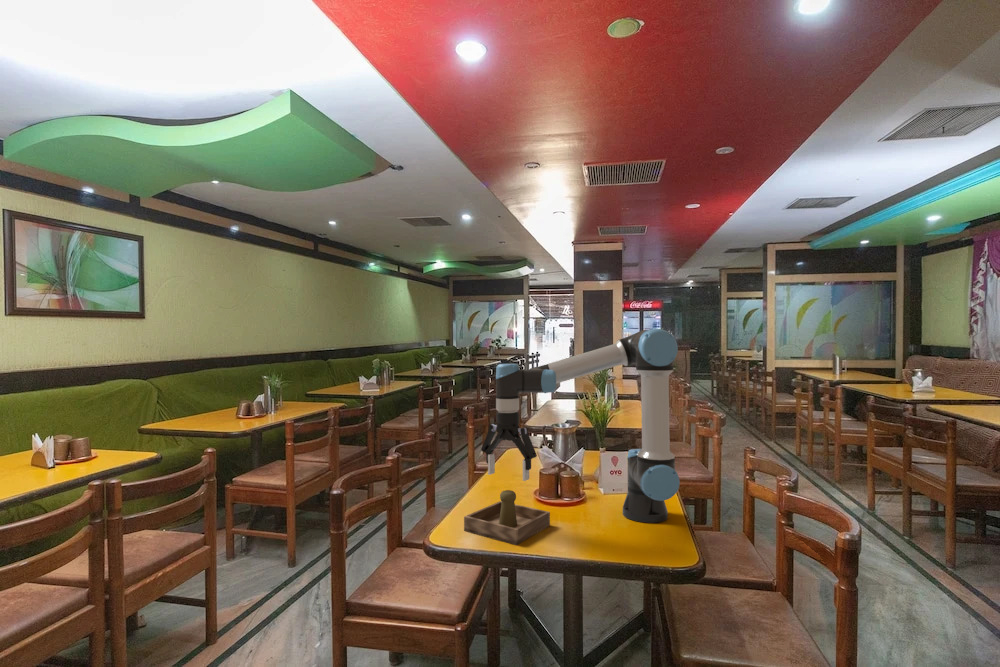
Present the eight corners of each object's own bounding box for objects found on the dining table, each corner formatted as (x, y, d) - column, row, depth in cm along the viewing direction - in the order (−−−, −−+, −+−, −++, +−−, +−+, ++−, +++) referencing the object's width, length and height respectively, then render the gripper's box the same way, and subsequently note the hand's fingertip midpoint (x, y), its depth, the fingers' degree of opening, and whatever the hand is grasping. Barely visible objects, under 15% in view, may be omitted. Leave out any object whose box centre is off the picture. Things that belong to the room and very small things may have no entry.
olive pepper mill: (495, 527, 164) (496, 492, 165) (502, 520, 170) (502, 487, 170) (513, 529, 162) (513, 494, 162) (519, 523, 168) (519, 489, 168)
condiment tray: (549, 525, 169) (549, 512, 169) (516, 545, 152) (516, 530, 152) (500, 513, 180) (500, 501, 180) (464, 530, 164) (464, 516, 164)
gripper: (546, 412, 163) (547, 479, 162) (484, 407, 177) (484, 469, 177) (534, 415, 157) (535, 485, 156) (470, 409, 171) (471, 473, 171)
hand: (508, 476), depth 166 cm, fingers open, 13 cm apart
